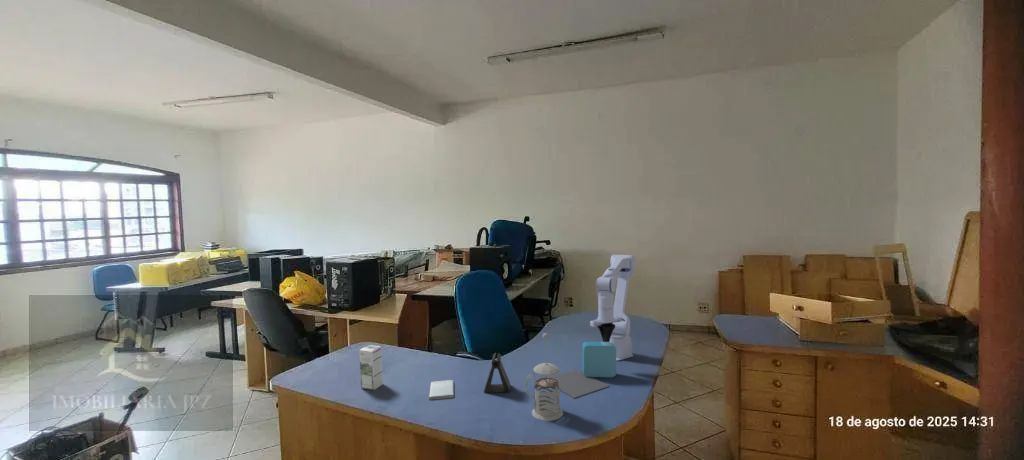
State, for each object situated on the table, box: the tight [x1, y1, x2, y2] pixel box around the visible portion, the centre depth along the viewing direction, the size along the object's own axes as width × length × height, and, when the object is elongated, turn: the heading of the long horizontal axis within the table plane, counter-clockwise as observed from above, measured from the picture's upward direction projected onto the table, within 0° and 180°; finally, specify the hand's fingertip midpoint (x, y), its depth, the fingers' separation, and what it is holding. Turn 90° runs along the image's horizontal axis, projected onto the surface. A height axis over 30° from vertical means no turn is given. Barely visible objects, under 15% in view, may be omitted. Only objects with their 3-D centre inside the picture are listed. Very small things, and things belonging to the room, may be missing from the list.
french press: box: [524, 332, 564, 422], centre depth 124 cm, size 10×12×25 cm
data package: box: [581, 341, 617, 378], centre depth 151 cm, size 12×4×12 cm, turn 87°
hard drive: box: [428, 379, 454, 401], centre depth 142 cm, size 2×8×12 cm
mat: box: [547, 368, 610, 399], centre depth 145 cm, size 16×18×1 cm
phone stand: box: [483, 352, 511, 394], centre depth 142 cm, size 9×6×12 cm, turn 88°
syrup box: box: [358, 345, 384, 391], centre depth 147 cm, size 6×6×14 cm
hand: (606, 342), depth 157 cm, fingers closed
